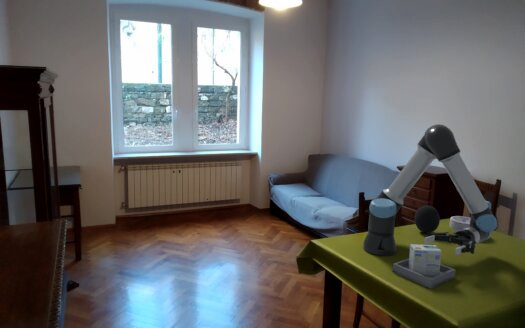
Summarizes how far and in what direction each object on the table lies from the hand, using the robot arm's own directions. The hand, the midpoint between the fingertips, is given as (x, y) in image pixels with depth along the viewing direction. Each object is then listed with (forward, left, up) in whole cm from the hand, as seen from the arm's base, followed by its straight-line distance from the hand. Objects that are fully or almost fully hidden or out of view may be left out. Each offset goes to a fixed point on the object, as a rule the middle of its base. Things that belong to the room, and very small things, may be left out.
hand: (439, 246), depth 162 cm
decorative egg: (-30, +38, -10) cm, 50 cm away
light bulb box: (0, -10, -9) cm, 14 cm away
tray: (0, -10, -10) cm, 14 cm away
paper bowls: (-18, +55, -10) cm, 59 cm away
